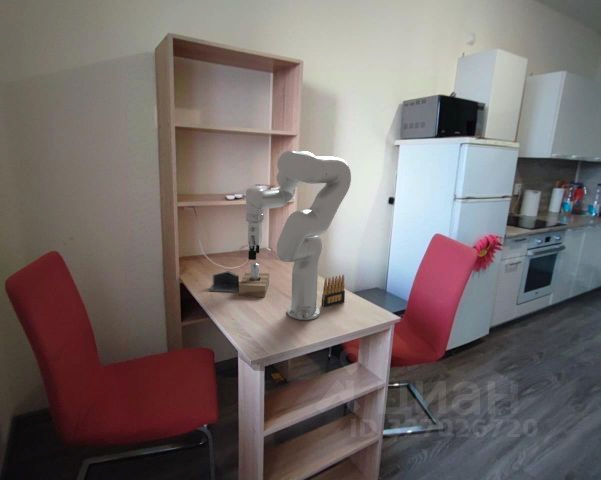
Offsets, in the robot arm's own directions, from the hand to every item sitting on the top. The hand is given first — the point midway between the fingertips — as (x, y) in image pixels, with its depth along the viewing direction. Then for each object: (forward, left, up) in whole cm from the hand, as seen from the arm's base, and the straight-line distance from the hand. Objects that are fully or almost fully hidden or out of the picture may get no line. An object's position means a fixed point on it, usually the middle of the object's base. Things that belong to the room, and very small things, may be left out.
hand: (254, 256), depth 154 cm
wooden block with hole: (0, 0, -15) cm, 15 cm away
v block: (+1, +13, -15) cm, 20 cm away
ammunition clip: (-12, -34, -16) cm, 40 cm away
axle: (0, 0, -15) cm, 15 cm away
